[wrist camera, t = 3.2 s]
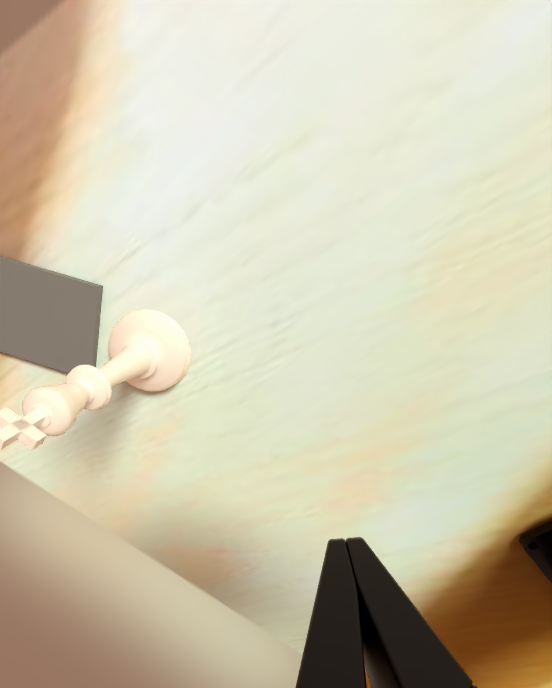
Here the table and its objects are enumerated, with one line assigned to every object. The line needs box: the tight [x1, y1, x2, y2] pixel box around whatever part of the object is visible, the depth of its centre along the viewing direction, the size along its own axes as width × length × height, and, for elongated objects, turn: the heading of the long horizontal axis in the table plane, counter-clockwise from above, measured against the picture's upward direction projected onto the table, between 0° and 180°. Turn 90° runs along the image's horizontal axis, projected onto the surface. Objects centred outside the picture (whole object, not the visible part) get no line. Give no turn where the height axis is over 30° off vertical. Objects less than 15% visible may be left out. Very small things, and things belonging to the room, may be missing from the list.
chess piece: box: [0, 310, 191, 450], centre depth 16 cm, size 5×5×10 cm
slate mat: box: [0, 256, 103, 373], centre depth 21 cm, size 9×6×1 cm, turn 75°
